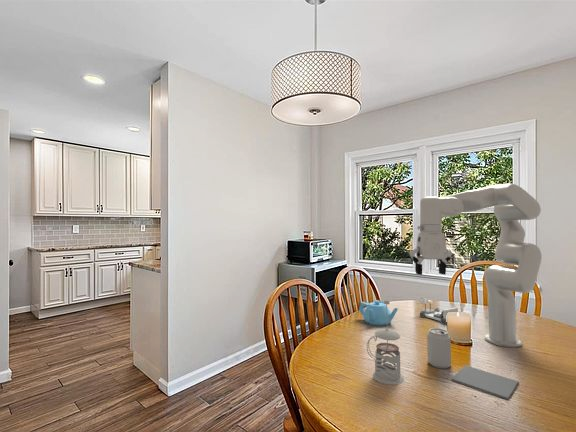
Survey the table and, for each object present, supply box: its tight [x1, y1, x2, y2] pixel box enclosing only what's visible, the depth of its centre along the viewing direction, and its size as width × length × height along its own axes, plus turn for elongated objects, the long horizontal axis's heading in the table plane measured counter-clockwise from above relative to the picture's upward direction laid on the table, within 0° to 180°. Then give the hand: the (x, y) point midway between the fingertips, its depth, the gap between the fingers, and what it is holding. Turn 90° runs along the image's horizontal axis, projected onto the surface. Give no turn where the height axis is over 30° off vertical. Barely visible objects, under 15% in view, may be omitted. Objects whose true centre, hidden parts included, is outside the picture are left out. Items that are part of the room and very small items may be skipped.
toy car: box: [418, 297, 459, 325], centre depth 161 cm, size 18×10×12 cm
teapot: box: [358, 299, 399, 327], centre depth 156 cm, size 15×15×11 cm
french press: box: [366, 299, 405, 386], centre depth 101 cm, size 10×12×25 cm
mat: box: [451, 365, 519, 401], centre depth 97 cm, size 13×15×1 cm
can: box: [426, 327, 452, 369], centre depth 109 cm, size 8×8×12 cm
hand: (430, 274), depth 117 cm, fingers open, 9 cm apart
